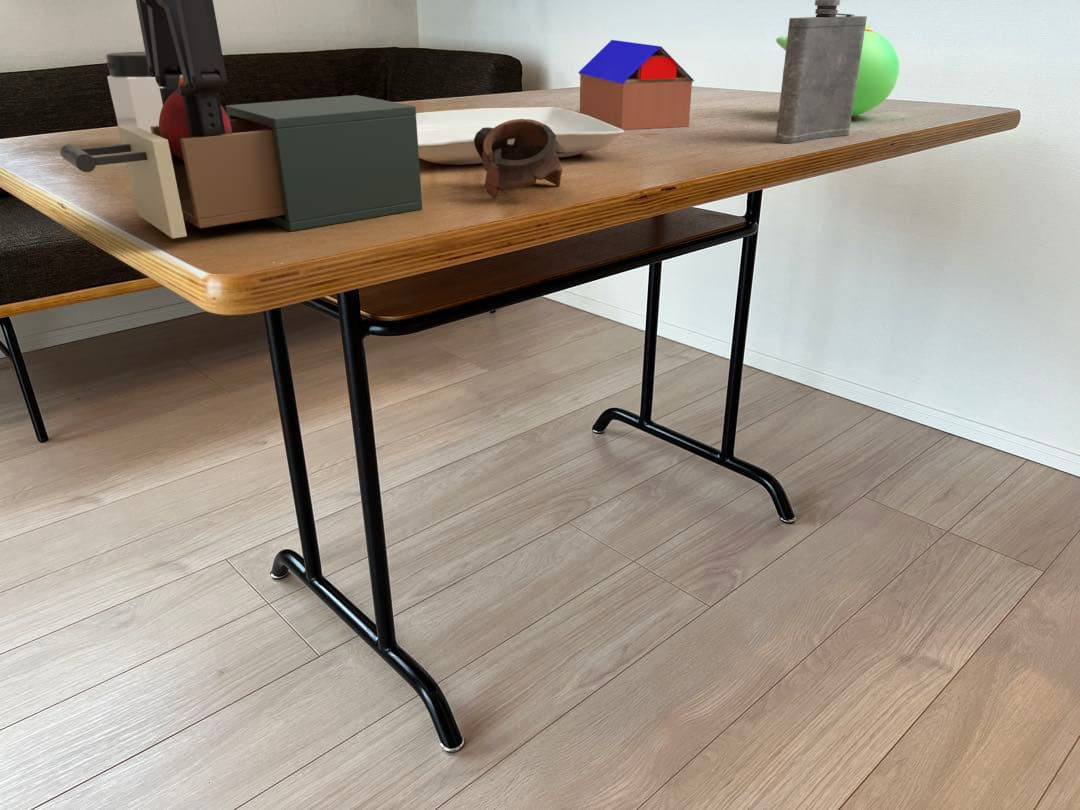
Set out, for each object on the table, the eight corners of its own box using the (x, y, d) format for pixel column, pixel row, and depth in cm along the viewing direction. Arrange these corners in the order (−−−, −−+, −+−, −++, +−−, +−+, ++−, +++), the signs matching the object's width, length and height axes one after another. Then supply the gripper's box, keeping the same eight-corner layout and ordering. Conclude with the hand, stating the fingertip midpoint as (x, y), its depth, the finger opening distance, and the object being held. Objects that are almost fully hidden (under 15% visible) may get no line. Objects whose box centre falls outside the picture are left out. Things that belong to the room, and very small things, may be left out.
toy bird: (797, 125, 131) (810, 22, 124) (763, 111, 146) (773, 19, 139) (907, 123, 132) (926, 21, 126) (862, 109, 147) (877, 18, 141)
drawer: (103, 250, 66) (78, 148, 62) (73, 223, 73) (50, 131, 70) (314, 216, 75) (302, 126, 72) (268, 195, 83) (256, 113, 80)
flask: (766, 140, 118) (782, -1, 110) (832, 131, 125) (851, -2, 117) (786, 143, 115) (804, -1, 107) (853, 134, 122) (874, -2, 114)
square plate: (554, 129, 128) (554, 103, 126) (626, 160, 104) (628, 127, 103) (377, 139, 120) (375, 111, 118) (413, 174, 97) (411, 139, 95)
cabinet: (290, 231, 74) (274, 118, 70) (242, 207, 83) (225, 105, 78) (422, 209, 81) (415, 106, 77) (365, 188, 90) (356, 95, 86)
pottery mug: (586, 192, 90) (582, 129, 83) (530, 244, 87) (520, 184, 80) (504, 151, 95) (493, 89, 88) (448, 200, 92) (432, 139, 85)
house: (641, 110, 147) (644, 39, 142) (691, 126, 130) (697, 45, 125) (577, 113, 144) (578, 40, 139) (620, 130, 127) (623, 47, 122)
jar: (145, 141, 119) (126, 51, 114) (200, 141, 119) (184, 51, 114) (113, 152, 111) (91, 55, 106) (172, 152, 111) (153, 55, 106)
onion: (247, 165, 76) (232, 72, 72) (224, 178, 71) (207, 78, 67) (184, 165, 76) (166, 72, 73) (157, 178, 71) (136, 78, 67)
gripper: (239, -153, 58) (285, 180, 69) (161, -127, 72) (210, 150, 82) (125, -164, 54) (192, 193, 65) (66, -133, 68) (129, 158, 78)
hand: (202, 168), depth 73 cm, fingers closed on onion, 6 cm apart
